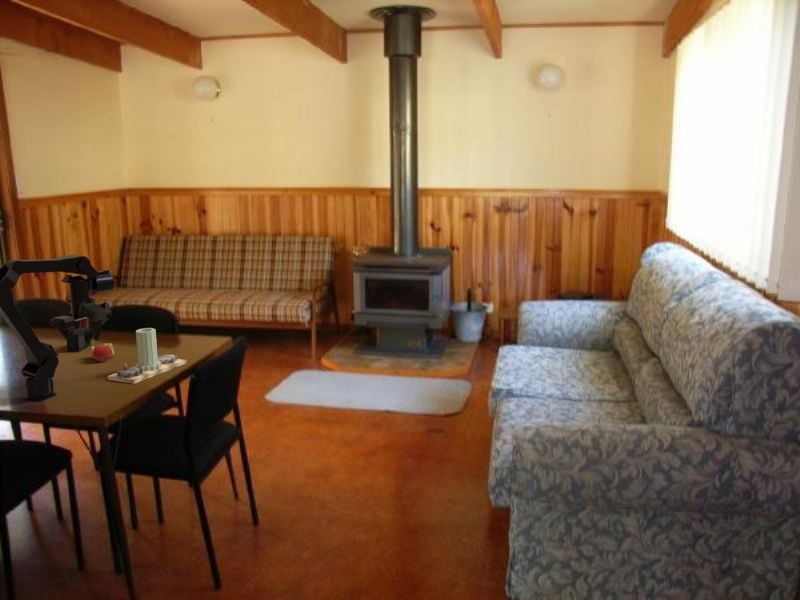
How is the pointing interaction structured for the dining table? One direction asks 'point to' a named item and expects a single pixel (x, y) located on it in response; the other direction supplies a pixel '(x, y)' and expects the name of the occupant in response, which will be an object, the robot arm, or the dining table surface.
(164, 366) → the gear board
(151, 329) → the gear sleeve
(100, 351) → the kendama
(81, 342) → the digital camera
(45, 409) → the dining table surface
